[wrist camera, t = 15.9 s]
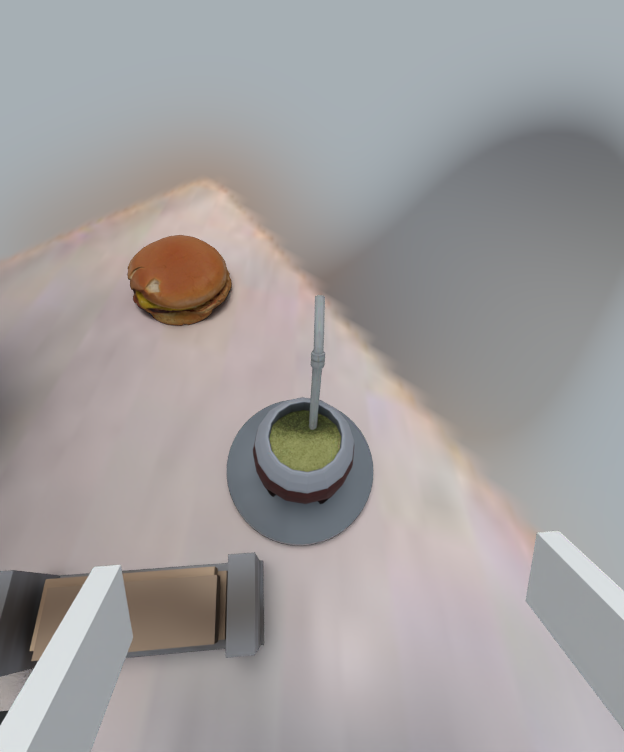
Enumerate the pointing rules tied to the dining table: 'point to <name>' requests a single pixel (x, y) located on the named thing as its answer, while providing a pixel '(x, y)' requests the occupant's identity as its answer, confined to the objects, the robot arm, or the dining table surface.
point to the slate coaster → (294, 518)
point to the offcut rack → (142, 610)
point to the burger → (179, 279)
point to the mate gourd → (305, 439)
